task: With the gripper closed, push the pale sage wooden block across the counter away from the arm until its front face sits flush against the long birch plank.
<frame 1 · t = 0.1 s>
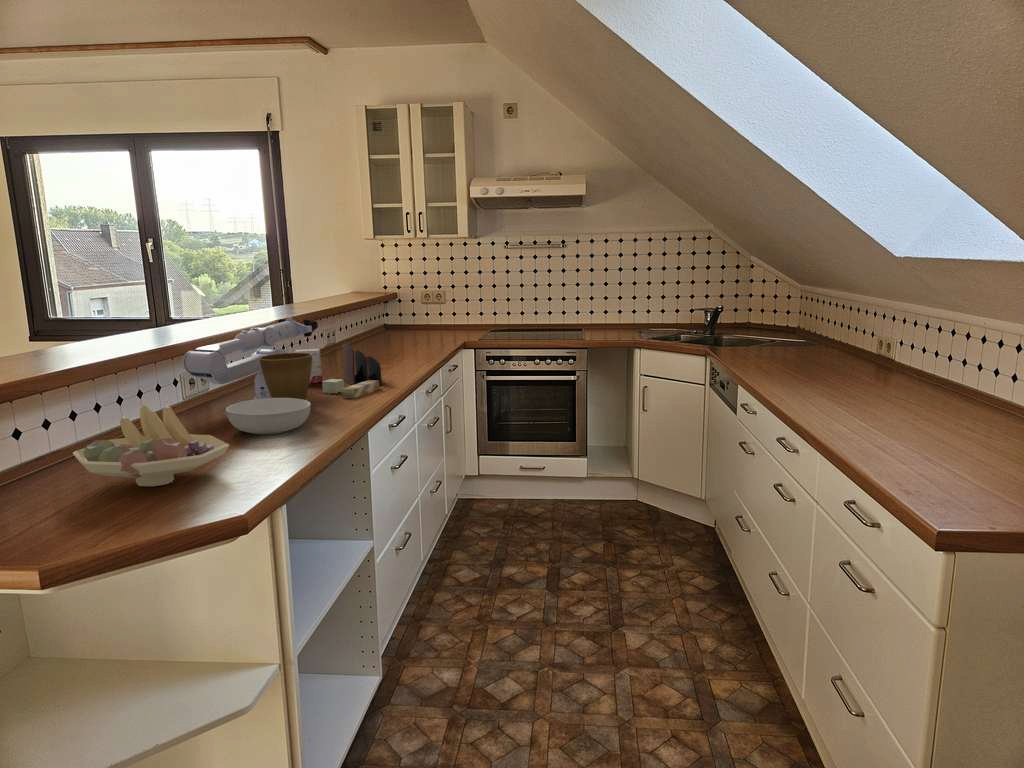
hand: (307, 324, 240), 22 cm above the counter, tool horizontal, fingers open, 7 cm apart
letter holder: (362, 383, 251), on the counter
dish with food: (157, 483, 143), on the counter
serving bowl: (271, 431, 184), on the counter
board: (361, 393, 230), on the counter
plant pot: (289, 409, 209), on the counter
block: (333, 392, 234), on the counter
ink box: (309, 383, 251), on the counter
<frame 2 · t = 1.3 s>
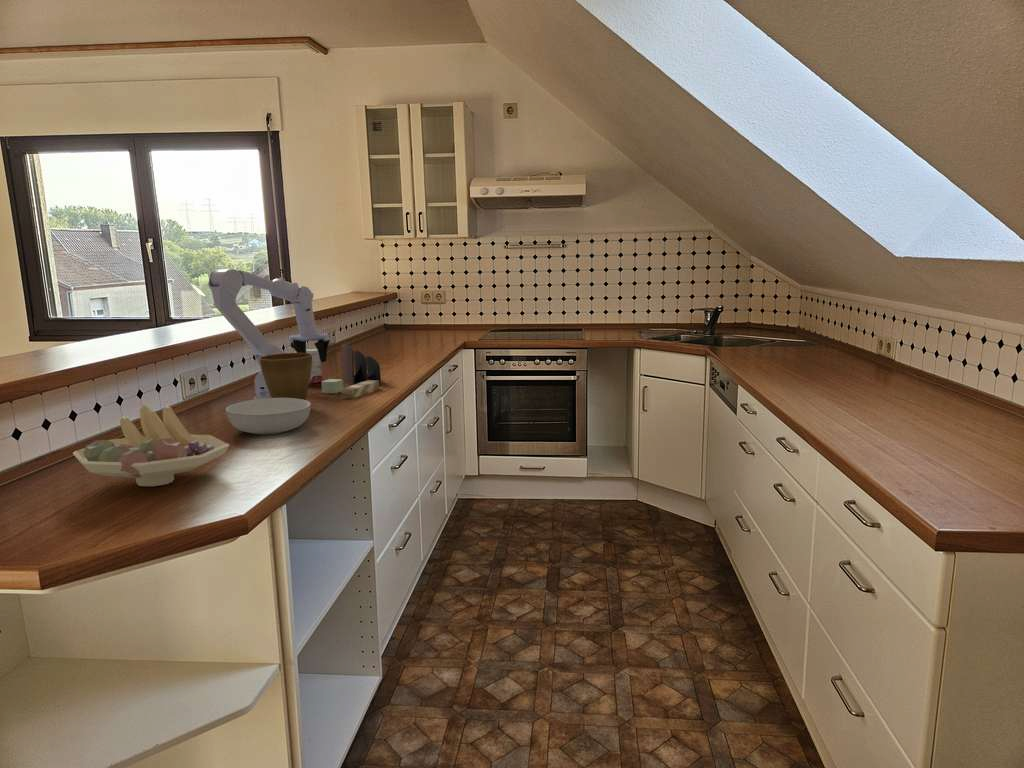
hand: (314, 361, 236), 10 cm above the counter, tool pointing down, fingers open, 7 cm apart
nothing on the counter moved.
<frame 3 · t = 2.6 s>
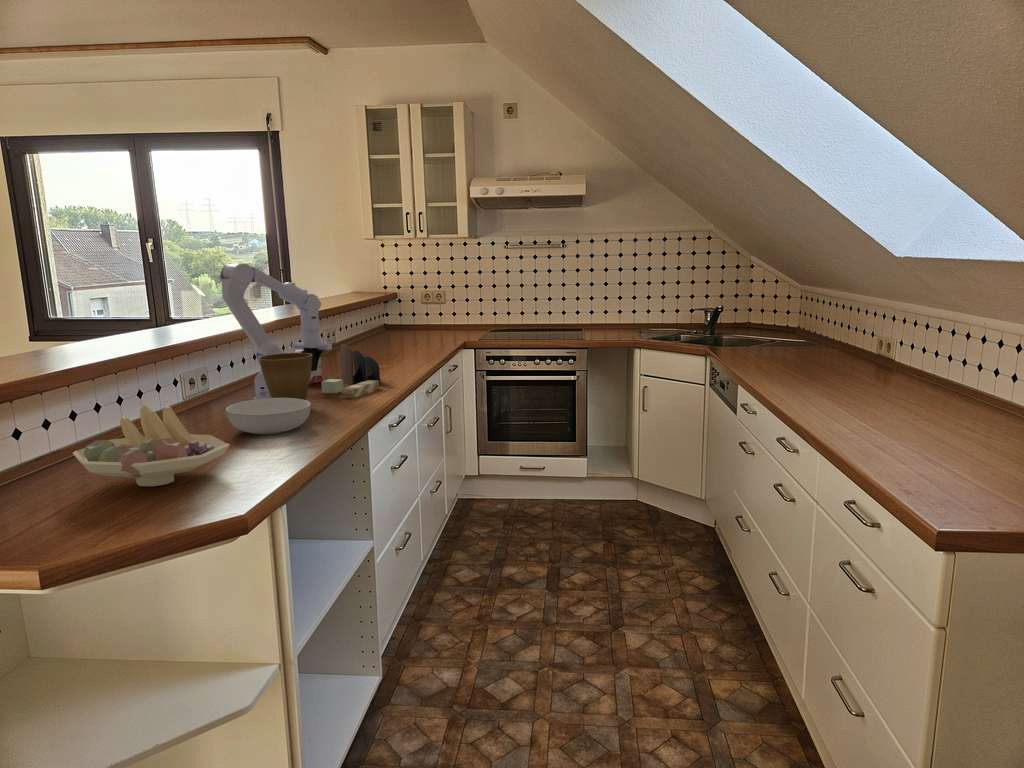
hand: (313, 370, 235), 7 cm above the counter, tool pointing down, fingers closed
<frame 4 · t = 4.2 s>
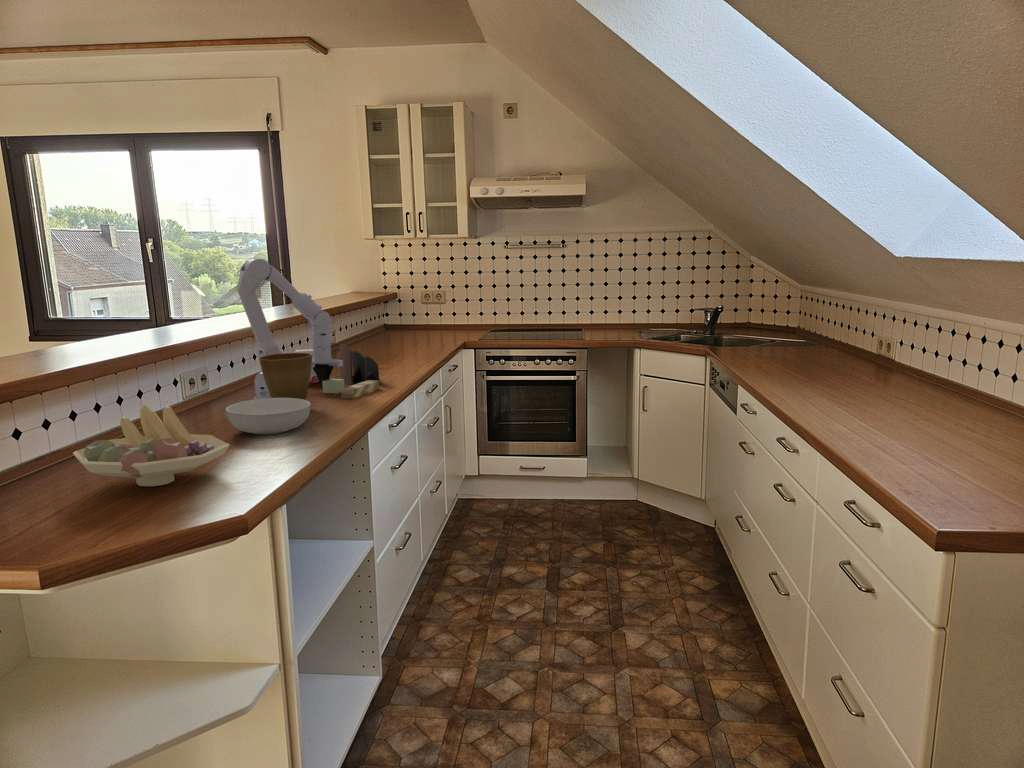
hand: (324, 386, 235), 1 cm above the counter, tool pointing down, fingers closed
block: (333, 392, 234), on the counter, touching gripper
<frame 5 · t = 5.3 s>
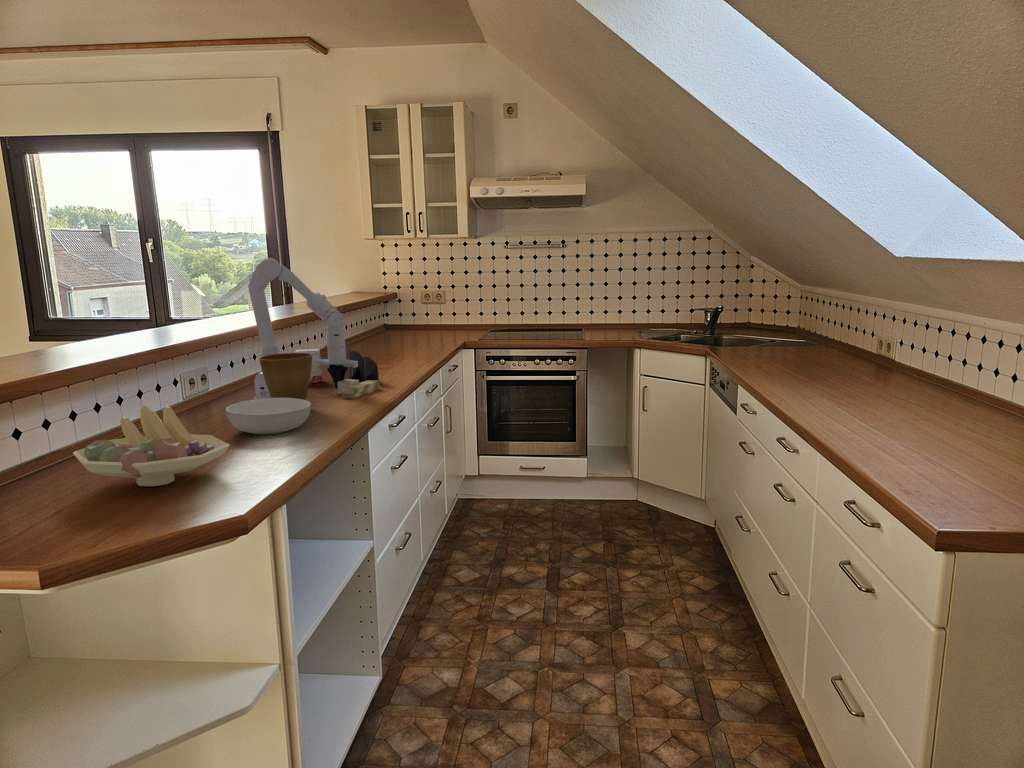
hand: (338, 387, 233), 1 cm above the counter, tool pointing down, fingers closed
block: (348, 392, 232), on the counter, touching board, gripper
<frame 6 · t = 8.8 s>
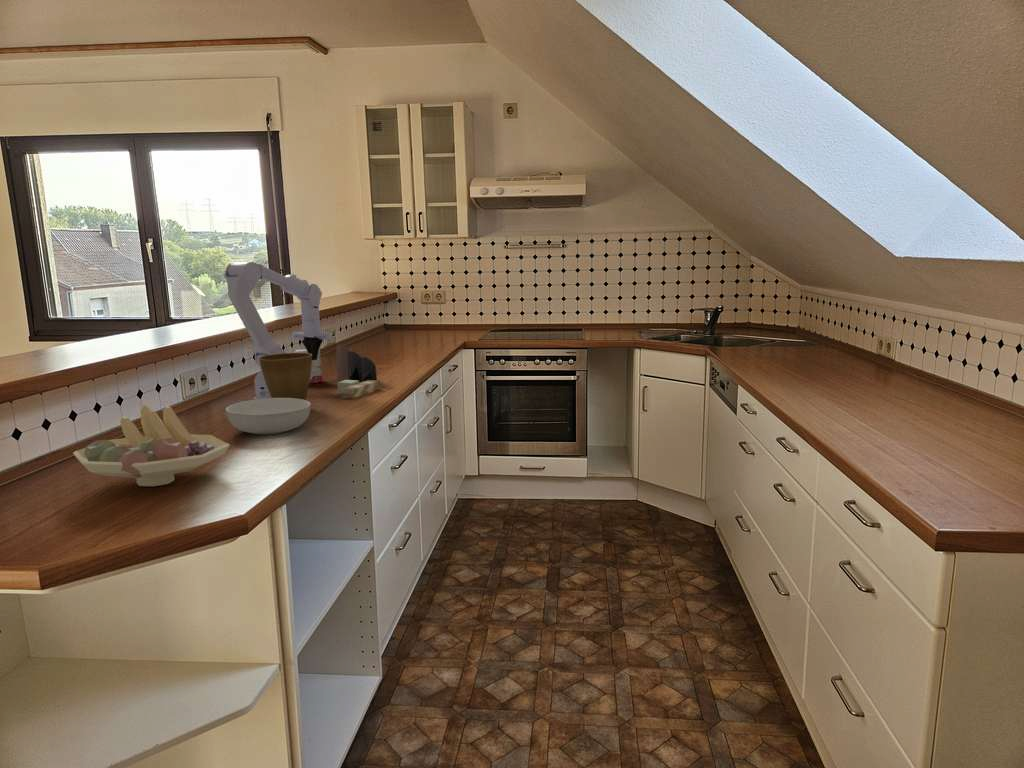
hand: (313, 359, 238), 10 cm above the counter, tool pointing down, fingers closed
block: (348, 393, 232), on the counter
at the end: block inside the target area on the counter beside the board (0.2 cm from its centre), on the counter; block tilted 0° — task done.
